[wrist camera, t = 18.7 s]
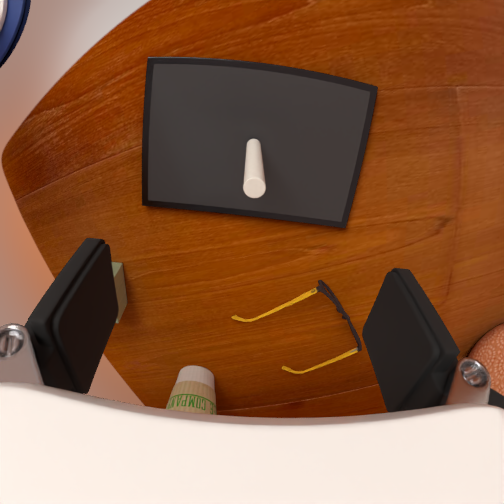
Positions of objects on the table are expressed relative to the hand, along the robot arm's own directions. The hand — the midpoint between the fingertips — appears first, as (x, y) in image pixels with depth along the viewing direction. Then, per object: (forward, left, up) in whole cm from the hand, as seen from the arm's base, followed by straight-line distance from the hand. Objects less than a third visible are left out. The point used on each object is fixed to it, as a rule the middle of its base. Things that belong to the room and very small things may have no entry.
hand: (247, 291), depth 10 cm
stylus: (0, 0, -25) cm, 25 cm away
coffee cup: (+40, -5, -26) cm, 48 cm away
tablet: (0, 0, -26) cm, 26 cm away
